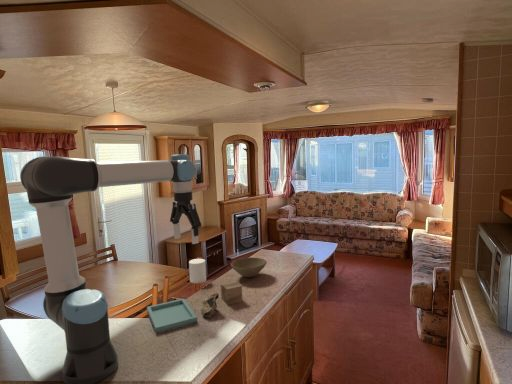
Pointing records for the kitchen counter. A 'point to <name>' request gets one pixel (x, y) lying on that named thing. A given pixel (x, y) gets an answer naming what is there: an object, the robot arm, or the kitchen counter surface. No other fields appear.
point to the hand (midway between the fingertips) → (186, 240)
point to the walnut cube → (231, 292)
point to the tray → (171, 315)
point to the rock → (209, 305)
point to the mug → (197, 270)
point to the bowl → (248, 266)
